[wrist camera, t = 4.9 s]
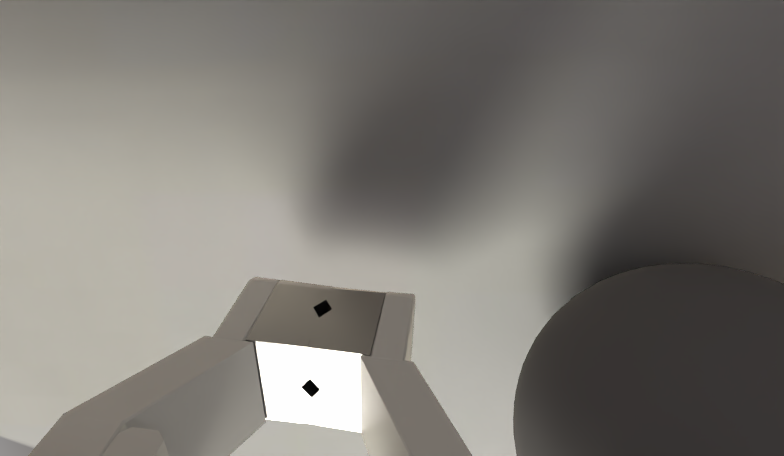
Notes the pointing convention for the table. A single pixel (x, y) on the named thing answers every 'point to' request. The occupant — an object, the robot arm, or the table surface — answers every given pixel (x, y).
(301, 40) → the table surface
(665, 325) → the grey sphere
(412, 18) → the table surface
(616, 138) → the table surface
